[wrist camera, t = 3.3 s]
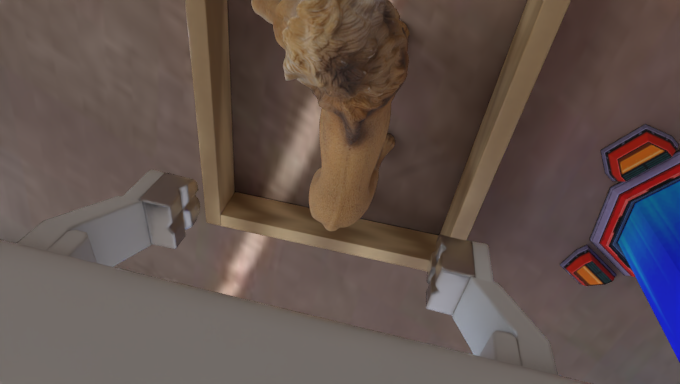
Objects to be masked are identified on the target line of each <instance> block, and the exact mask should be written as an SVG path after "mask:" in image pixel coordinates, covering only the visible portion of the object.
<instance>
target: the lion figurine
mask: <svg viewBox="0 0 680 384" xmlns="http://www.w3.org/2000/svg"><path fill="white" fill-rule="evenodd" d="M251 5H252V8H253V10H254V11H255V13H256V14H258V15H260V16H261V17H262V18H264V19H265V20H266V21H267V22H269V23H271V24H273V30H274V33H275V38H276V41H277V42H278V44H279V45H280V46H281V47H283V48H284V49H285V51H286V55H285V59H284V62H283V69H284V71H285V73H284V75H285V79H286V81H290V80H294V79H298V81H299V82H300V83H302V84H304V85H306V86H307V87H309V88H311V90H312V92H313V94H314V95H315V96H316V97H317V99H318V104H319V106H320V107H321V108H322V109H321V116H320V124H319V131H320V149H321V160H322V168H320V169H318V170H317V171H316V173H315V174H314V176H313V179H312V182H311V185H310V190H309V207H310V212H311V215H312V217H313V218H314V219H316V220H317V221H319V222H321V223H322V224H323V225H324V227H325V229H327V230H328V231H336V230H337V229H338V228H340V227H348V226H350V225H352V224H354V223H356V222H357V221H358V220H359V219H360V218H361V217H362V216H363V214H364V213H365V212H366V211H367V209H368V207H369V205H370V203H371V201H372V198H373V196H374V193H375V190H376V187H377V182H378V176H379V172H378V169H379V167H380V165H381V162H382V160H383V159H384V157H385V156H386V154H387V153H388V152H389V151H390V150H391V149H392V148H393V147H394V145H395V139H394V137H393V136H392V135H390V134H387V131H388V127H389V122H390V115H391V101H392V100H393V98H394V96H395V94H396V92H397V91H398V90H399V88H400V87H401V85H402V84H403V82H404V81H405V79H406V77H407V70H408V63H409V56H408V54H407V50H408V36H409V30H408V28H407V26H406V24H405V23H403V22H402V21H400V20H399V19H400V15H399V13H398V11H397V9H395V8H394V6H393V5H392V3H391V2H389V1H388V0H252V1H251Z"/></svg>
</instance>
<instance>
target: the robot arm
mask: <svg viewBox="0 0 680 384" xmlns="http://www.w3.org/2000/svg"><path fill="white" fill-rule="evenodd" d="M197 191H198V184H197V181H196V180H194V179H190V178H186V177H182V176H178V175H174V174H170V173H165V172H161V171H157V170H150V171H148V172H147V173H146V174H145V175H144V176H143V177H142V178H141V179H140V180H139V181H138V182H137V183H136V184H135V185H134V186H133V187H132V188H131V189H130V190H129V191H128V192H127V193H125V194H124V195H123V196H116V197H113V198H110V199H107V200H104V201H101V202H98V203H95V204H92V205H89V206H86V207H83V208H80V209H77V210H74V211H71V212H68V213H65V214H62V215H59V216H56V217H53V218H50V219H47V220H44V221H42V222H41V223H40V224H39V225H38V226H37V227H35V228H34V229H33V230H32V231H31V232H29V233H28V234H27V235H26V236H25V237H23V238H22V239H21V240H20V241H19V242H17V243H12V242H8V241H4V240H0V384H592V383H588V382H583V381H579V380H575V379H571V378H567V377H563V376H559V375H558V373H557V369H556V365H555V361H554V357H553V353H552V349H551V345H550V342H549V340H548V339H547V338H546V337H545V336H544V335H543V334H542V332H541V331H540V330H539V329H538V328H537V327H536V326H535V324H534V323H533V322H532V321H531V320H530V319H529V317H528V316H527V315H526V314H525V313H524V312H523V311H522V309H521V308H520V307H519V306H518V305H517V304H516V303H515V301H514V300H513V299H512V298H511V297H510V296H509V295H508V293H507V292H506V291H505V290H504V289H503V288H502V287H501V285H500V284H499V283H496V282H494V279H493V273H492V266H491V259H490V253H489V246H488V245H487V244H484V243H479V242H474V241H468V240H463V239H459V238H454V237H449V236H445V235H439V237H438V239H437V241H436V251H435V252H433V253H432V255H431V257H430V260H429V264H428V269H427V283H428V284H429V286H428V288H427V291H426V309H430V310H433V311H437V312H441V313H445V314H449V315H452V317H453V319H454V321H455V323H456V324H457V326H458V328H459V330H460V331H461V333H462V335H463V337H464V338H465V340H466V342H467V344H468V345H469V347H470V349H471V351H472V352H473V354H474V355H473V354H468V353H464V352H460V351H456V350H452V349H448V348H444V347H440V346H436V345H431V344H427V343H423V342H419V341H415V340H411V339H407V338H402V337H398V336H394V335H390V334H386V333H382V332H377V331H373V330H369V329H365V328H361V327H357V326H353V325H349V324H345V323H341V322H337V321H333V320H329V319H325V318H320V317H316V316H312V315H308V314H304V313H300V312H296V311H292V310H288V309H284V308H279V307H275V306H271V305H267V304H263V303H259V302H255V301H251V300H246V299H242V298H238V297H234V296H230V295H226V294H222V293H218V292H213V291H209V290H205V289H201V288H197V287H193V286H189V285H185V284H181V283H176V282H172V281H168V280H164V279H160V278H156V277H152V276H148V275H144V274H139V273H135V272H131V271H127V270H123V269H119V268H115V267H113V266H115V265H117V264H119V263H120V262H122V261H124V260H126V259H128V258H129V257H131V256H133V255H135V254H136V253H138V252H140V251H142V250H144V249H145V248H147V247H149V246H151V244H154V245H158V246H163V247H168V248H173V249H176V248H177V247H178V245H179V244H180V243H181V241H182V240H183V239H184V237H185V236H186V234H185V230H186V229H188V228H190V227H192V226H193V225H194V223H195V222H196V220H197V217H198V215H199V210H200V201H199V199H198V198H197V197H196V195H195V194H196V192H197Z"/></svg>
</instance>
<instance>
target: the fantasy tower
mask: <svg viewBox="0 0 680 384" xmlns="http://www.w3.org/2000/svg"><path fill="white" fill-rule="evenodd" d="M678 146H679V144H678V143H677V142H676V141H675V139H674V138H673V137H672V136H671V135H668V134H666V133H664V132H662V131H660V130H657V129H655V128H653V127H651V126H649V125H646V124H645V125H643V126H641V127H640V128H638V129H636V130H634V131H633V132H631V133H629V134H628V135H626V136H624V137H623V138H621V139H619V140H617V141H616V142H614V143H612V144H611V145H609V146H607V147H606V148H604V149H602V150H601V155H602V160H603V165H604V170H605V174H606V175H607V176H608V177H609V178H610V179H611V180H612V181H621V182H620V183H618V184H616V185H614V186H612V187H610V189H609V192H608V194H607V197H606V199H605V202H604V204H603V207H602V209H601V212H600V214H599V217H598V219H597V222H596V224H595V227H594V229H593V232H592V234H591V237H590V241H591V242H592V243H593V244H594V245H595V246H596V247H597V248H598V249H599V250H600V251H601V252H602V253H603V254H604V255H605V256H606V257H607V258H608V259H609V260H610V261H611V262H612V263H613V264H614V266H615V267H616V268H617V269H618V270H619V271H620V272H621V273H622V274H623V275H626V276H633V277H636V279H637V281H638V282H639V284H640V286H641V288H642V290H643V292H644V294H645V296H646V298H647V300H648V302H649V304H650V306H651V308H652V310H653V312H654V314H655V316H656V317H657V319H658V321H659V323H660V325H661V327H662V329H663V331H664V333H665V335H666V337H667V339H668V341H669V343H670V345H671V347H672V349H673V350H674V352H675V354H676V356H677V358H678V360H679V362H680V151H678V152H676V153H675V151H676V149H677V147H678ZM560 266H561V267H562V268H563V269H564V270H565V271H566V272H568V273H569V274H570V275H571V276H572V277H573V278H574V279H575V280H576V281H577V282H578V283H579V284H581V285H585V286H592V285H603V284H607V283H609V282H612V281H613V280H614V278H615V276H616V274H615V273H614V272H613V271H612V270H611V269H610V268H609V267H608V266H607V265H606V264H605V263H604V262H603V261H602V260H601V259H600V258H599V257H598V256H597V255H596V254H595V253H594V252H593V251H592V250H591V249H590V248H589V247H588V246H587V245H586V246H583V247H581V248H579V249H577V250H576V251H574V252H573V253H572V254H571V255H570V256H569V257H568V258H567V259H566V260H565V261H563V262H562V263H561V264H560Z"/></svg>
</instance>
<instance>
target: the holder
mask: <svg viewBox="0 0 680 384" xmlns="http://www.w3.org/2000/svg"><path fill="white" fill-rule="evenodd" d="M570 2H571V0H527V3H526V6H525V8H524V11H523V14H522V16H521V19H520V22H519V24H518V27H517V30H516V32H515V35H514V38H513V40H512V43H511V46H510V48H509V51H508V54H507V56H506V59H505V62H504V64H503V67H502V70H501V72H500V75H499V78H498V80H497V83H496V86H495V88H494V91H493V94H492V96H491V99H490V102H489V104H488V107H487V110H486V112H485V115H484V118H483V120H482V123H481V126H480V128H479V131H478V134H477V136H476V139H475V142H474V144H473V147H472V150H471V152H470V155H469V158H468V160H467V163H466V166H465V168H464V171H463V174H462V176H461V179H460V182H459V184H458V187H457V190H456V192H455V195H454V198H453V200H452V203H451V206H450V208H449V211H448V214H447V216H446V219H445V222H444V224H443V227H442V230H441V232H440V235H445V236H449V237H454V238H459V239H463V240H467V238H468V236H469V234H470V231H471V229H472V227H473V225H474V222H475V220H476V218H477V215H478V213H479V211H480V208H481V206H482V204H483V202H484V199H485V197H486V195H487V192H488V190H489V188H490V185H491V183H492V181H493V179H494V176H495V174H496V172H497V169H498V167H499V165H500V162H501V160H502V158H503V156H504V153H505V151H506V149H507V146H508V144H509V142H510V140H511V137H512V135H513V133H514V130H515V128H516V126H517V123H518V121H519V119H520V117H521V114H522V112H523V110H524V107H525V105H526V103H527V100H528V98H529V96H530V94H531V91H532V89H533V87H534V84H535V82H536V80H537V77H538V75H539V73H540V71H541V68H542V66H543V64H544V61H545V59H546V57H547V54H548V52H549V50H550V48H551V45H552V43H553V41H554V38H555V36H556V34H557V31H558V29H559V27H560V25H561V22H562V20H563V18H564V15H565V13H566V11H567V9H568V6H569V4H570ZM185 5H186V15H187V25H188V36H189V46H190V57H191V67H192V77H193V88H194V98H195V108H196V119H197V129H198V139H199V150H200V160H201V170H202V181H203V191H204V201H205V212H206V222H207V223H210V224H215V225H219V226H223V227H228V228H232V229H237V230H242V231H246V232H251V233H255V234H260V235H264V236H269V237H273V238H278V239H283V240H287V241H292V242H296V243H301V244H305V245H310V246H314V247H319V248H323V249H328V250H333V251H337V252H342V253H346V254H351V255H355V256H360V257H364V258H369V259H373V260H378V261H383V262H387V263H392V264H396V265H401V266H405V267H410V268H414V269H419V270H423V271H427V269H428V264H429V260H430V257H431V255H432V253H433V252H435V251H436V241H437V239H438V237H439V236H438V235H434V234H429V233H425V232H420V231H415V230H411V229H406V228H401V227H397V226H392V225H387V224H383V223H378V222H373V221H368V220H364V219H359V220H358V221H357V222H356V223H354V224H352V225H350V226H348V227H340V228H338V229H337V230H336V231H328V230H327V229H325V227H324V225H323V224H322V223H321V222H319V221H317V220H316V219H314V218H313V217H312V215H311V212H310V208H308V207H303V206H298V205H294V204H289V203H284V202H280V201H275V200H270V199H266V198H261V197H256V196H252V195H247V194H242V193H238V192H235V188H234V162H233V136H232V110H231V84H230V59H229V33H228V7H227V0H185Z"/></svg>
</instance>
